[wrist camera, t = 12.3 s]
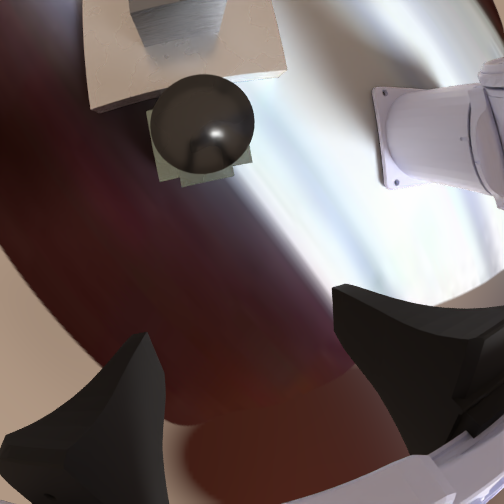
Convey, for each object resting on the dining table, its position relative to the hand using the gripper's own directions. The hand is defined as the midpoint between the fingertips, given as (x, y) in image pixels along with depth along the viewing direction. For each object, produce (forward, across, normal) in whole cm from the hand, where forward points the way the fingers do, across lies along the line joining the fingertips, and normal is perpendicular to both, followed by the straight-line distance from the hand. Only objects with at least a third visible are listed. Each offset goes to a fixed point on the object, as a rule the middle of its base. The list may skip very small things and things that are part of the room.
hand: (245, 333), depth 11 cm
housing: (+8, 0, -16) cm, 18 cm away
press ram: (+7, 0, -8) cm, 11 cm away
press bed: (+10, 0, -13) cm, 17 cm away
